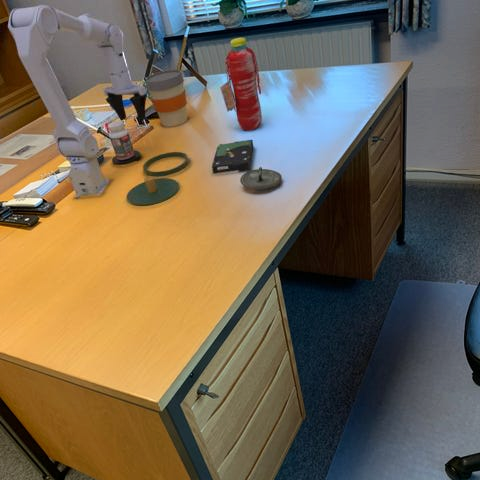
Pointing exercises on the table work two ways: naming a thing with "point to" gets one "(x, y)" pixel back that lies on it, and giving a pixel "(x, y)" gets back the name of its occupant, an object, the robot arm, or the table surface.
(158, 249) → the table surface
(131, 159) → the stand
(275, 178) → the lid
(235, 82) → the water bottle
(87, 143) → the robot arm
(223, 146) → the disk drive
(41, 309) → the table surface
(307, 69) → the table surface
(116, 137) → the pill bottle
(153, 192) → the tin lid
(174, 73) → the reusable coffee cup
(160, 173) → the dark green open loop
